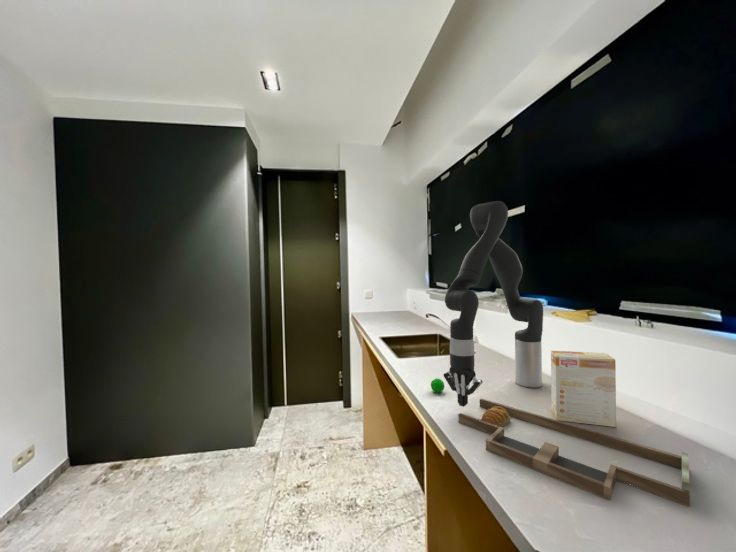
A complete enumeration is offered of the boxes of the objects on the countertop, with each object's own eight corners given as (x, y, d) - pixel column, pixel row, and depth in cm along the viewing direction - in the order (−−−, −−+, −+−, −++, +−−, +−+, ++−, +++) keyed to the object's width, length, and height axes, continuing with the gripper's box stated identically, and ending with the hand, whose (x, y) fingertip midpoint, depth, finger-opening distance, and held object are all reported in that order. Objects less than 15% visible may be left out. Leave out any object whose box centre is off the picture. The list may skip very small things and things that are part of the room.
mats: (504, 437, 84) (504, 435, 84) (610, 475, 68) (610, 474, 68) (491, 449, 79) (491, 448, 79) (604, 495, 62) (604, 493, 62)
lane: (481, 405, 103) (480, 393, 103) (687, 469, 70) (688, 451, 69) (444, 432, 87) (443, 418, 87) (690, 533, 53) (690, 510, 53)
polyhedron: (447, 392, 115) (447, 379, 115) (438, 395, 112) (437, 382, 112) (437, 388, 119) (436, 375, 119) (428, 391, 116) (427, 378, 116)
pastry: (497, 433, 87) (496, 419, 87) (474, 424, 92) (474, 411, 92) (512, 421, 93) (511, 409, 93) (490, 414, 98) (490, 402, 98)
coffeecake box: (607, 416, 94) (606, 352, 94) (617, 428, 87) (616, 359, 87) (550, 410, 99) (550, 349, 99) (556, 420, 92) (555, 355, 92)
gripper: (487, 353, 97) (487, 407, 98) (449, 346, 107) (450, 396, 107) (476, 358, 92) (477, 416, 92) (437, 350, 101) (438, 403, 102)
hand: (462, 405), depth 100 cm, fingers closed
